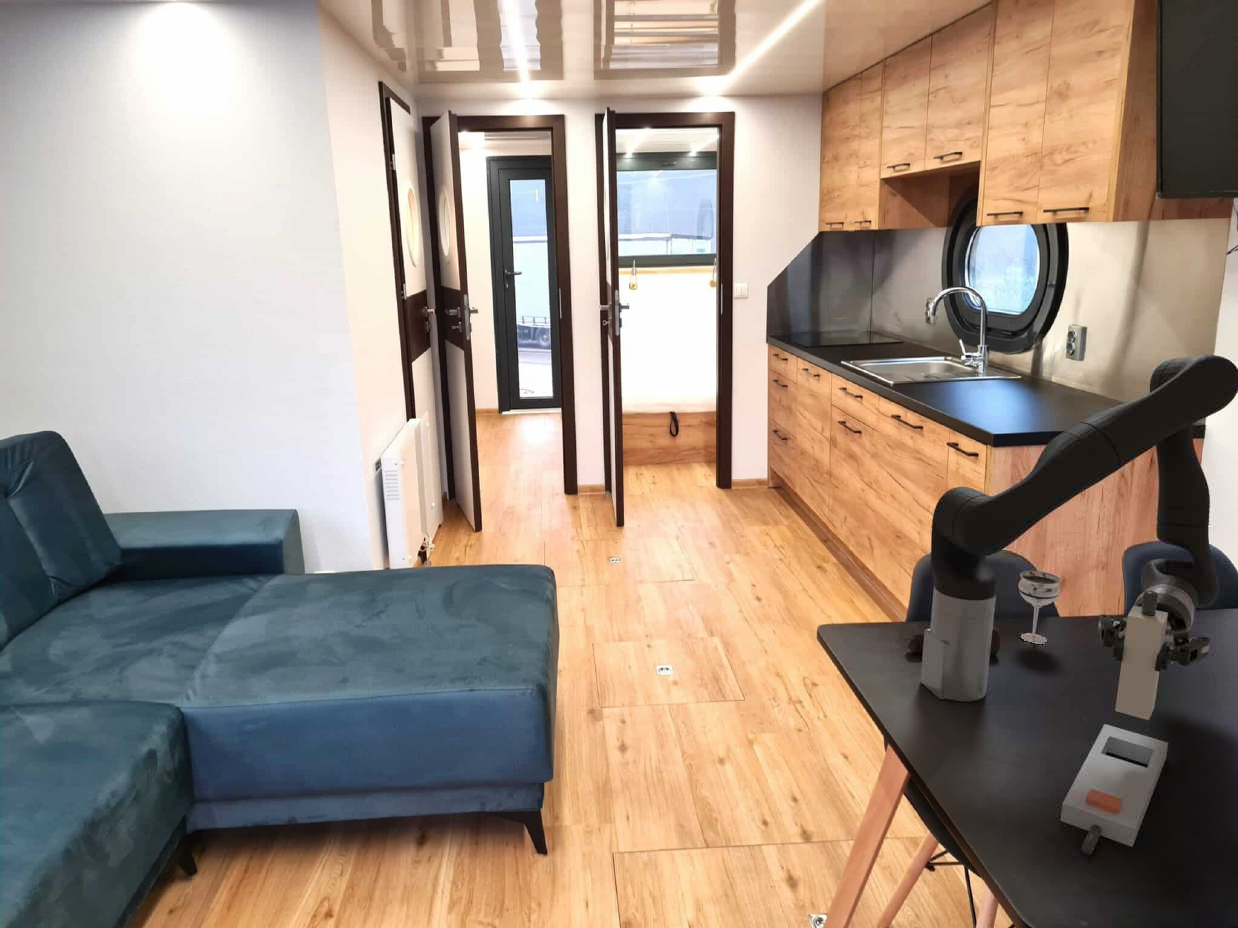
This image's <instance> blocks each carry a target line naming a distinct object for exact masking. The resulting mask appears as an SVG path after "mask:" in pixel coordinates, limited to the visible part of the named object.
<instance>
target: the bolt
mask: <svg viewBox="0 0 1238 928" xmlns="http://www.w3.org/2000/svg"><path fill="white" fill-rule="evenodd" d="M924 634H925V633H923V634H913V635H911V636H909V637H908V638H907V640H908V641H909V642H908V643H907V647H908V649H909V650H910V652H912V653H913V654H920V653H921V654H923V646H924ZM1000 646H1001V638H1000V634H999V631H998V629H997V628H996V626H995V625H994V624H993V628H992V638H991V648H990V656H996V655H997V654H998V653H999V651H1000Z"/></svg>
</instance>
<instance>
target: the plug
mask: <svg viewBox="0 0 1238 928" xmlns="http://www.w3.org/2000/svg"><path fill="white" fill-rule="evenodd" d="M1157 599H1158V593H1157V592H1154V591H1149V590H1147V591H1144V595H1143V603H1142V607H1139V606H1133V605H1132V607H1133V608H1132V607H1131V608H1130V610H1131V611H1130V610H1129V612H1130V613H1129V612H1128V614H1127V615H1128V619H1127V626H1126V634H1125V641H1124V653H1123V660H1122V662H1121V665H1120V671H1119V672H1120V673H1119V680H1118V686H1117V687H1118V688H1117V694H1116V701H1115V707H1114V708H1115V712H1117V713H1121V714H1125V715H1129V716H1132V717H1136V718H1139V719H1143V720H1146V721H1150V718H1151V717H1152V714H1153V712H1154V709H1155V704H1156V699H1157V691H1158V684H1159V678H1160V677H1159V676H1160V672H1158V671H1155V665H1156V658H1157V655H1158V654H1159V652H1160V650H1161V648H1162V646H1163V644H1164V637H1165V631H1166V624H1167V617H1168V613H1167V612H1162V611H1157V610H1156V606H1157Z"/></svg>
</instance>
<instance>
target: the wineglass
mask: <svg viewBox="0 0 1238 928" xmlns="http://www.w3.org/2000/svg"><path fill="white" fill-rule="evenodd" d="M1019 576H1020V577H1021V579H1020V581H1019V583H1018V589H1017V590H1018V591H1019V593H1020V596H1021V597H1022V598H1023V599H1024V600H1025V601H1026V602H1027V603H1029V604H1031V606H1032V607H1033V621H1032V622H1033V624H1032V632H1031V633H1029V632H1027V633H1025V632H1024V633H1025V634H1023V633H1021V634H1022V635H1021V638H1022V639H1024V641H1028V642H1032V643H1035V644H1042V643H1043V644H1044V645H1046V644H1045V643H1044V642H1047V640H1048V639H1047V638H1046V637H1044V636H1043V637H1042V635H1040V634H1036V631H1037V630H1036V629H1037V624H1038V623H1037V622H1038V618H1039V610H1040V608H1042V607H1043V606H1047V605H1049V604H1051V603H1053V602H1055V601H1056V600H1057V599H1058V598H1059V594H1060V591H1061V589H1060V586H1059V584H1060V583H1061V581H1062V580H1061V578H1060V577H1059V576H1058V575H1055V574H1053V573H1050V572H1046V571H1040V570H1027V571H1026V570H1025V571H1022V572H1021V573H1020V574H1019ZM1046 639H1047V640H1046Z"/></svg>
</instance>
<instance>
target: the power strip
mask: <svg viewBox="0 0 1238 928" xmlns="http://www.w3.org/2000/svg"><path fill="white" fill-rule="evenodd" d="M1168 747H1169V742H1167V741H1163V740H1160V739H1157V738H1155V737H1154V738H1153V737H1150V736H1148V735H1147V736H1146V735H1144V734H1140V733H1137V732H1134V731H1130V730H1126V729H1123V728H1119V727H1116V726H1113V725H1110V724H1106V723H1104V724H1103V726H1102V728H1101V730H1100V732H1099V734H1098V736H1097V738H1096V740H1095V742H1094V743H1093V745H1092V747H1091V750H1090V751H1089V752H1088V755H1087V757H1086V759H1085V760H1084V763H1083V764H1082V766H1081V768H1080V769H1079V771H1078V773H1077V775H1076V777H1075V779H1074V781H1073V783H1072V785H1071V787H1070V789H1069V791H1068V792H1067V794H1066V797H1065V798H1064V800H1063V802H1062V806H1061V813H1060V819H1059V820H1060V822H1063V823H1065V824H1068V825H1071V826H1074V827H1076V828H1079V829H1082V830H1085V831H1087V832H1088V833H1087V834H1086V837H1085V838H1084V841H1083V843H1082V845H1081V848H1080V851H1081V852H1082V853H1083V854H1084V855H1086V856H1091V855H1092V854H1093V852H1094V850H1095V847H1096V845H1097V843H1098V840H1099V839H1100V837H1101V836H1102V837H1104V838H1107V839H1110V840H1112V841H1115V842H1118V843H1121V844H1123V845H1126V846H1129V847H1130V848H1131V847H1133V846H1134V844H1135V841H1136V838H1137V836H1138V834H1139V831H1140V828H1141V825H1142V822H1143V819H1144V817H1145V814H1146V813H1147V810H1148V807H1149V804H1150V801H1151V799H1152V796H1153V794H1154V791H1155V788H1156V785H1157V783H1158V780H1159V778H1160V775H1161V773H1162V770H1163V767H1164V765H1165V762H1166V760H1167V755H1168V754H1167V752H1168ZM1107 753H1110V754H1114V755H1116V756H1119V757H1122V758H1126V759H1128V760H1133V761H1136V762H1139V763H1142V764H1145V765H1147V767H1146V766H1142V765H1138V764H1135V763H1132V762H1129V761H1126V760H1123V759H1119V758H1116V757H1113V756H1110V755H1107Z"/></svg>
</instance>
